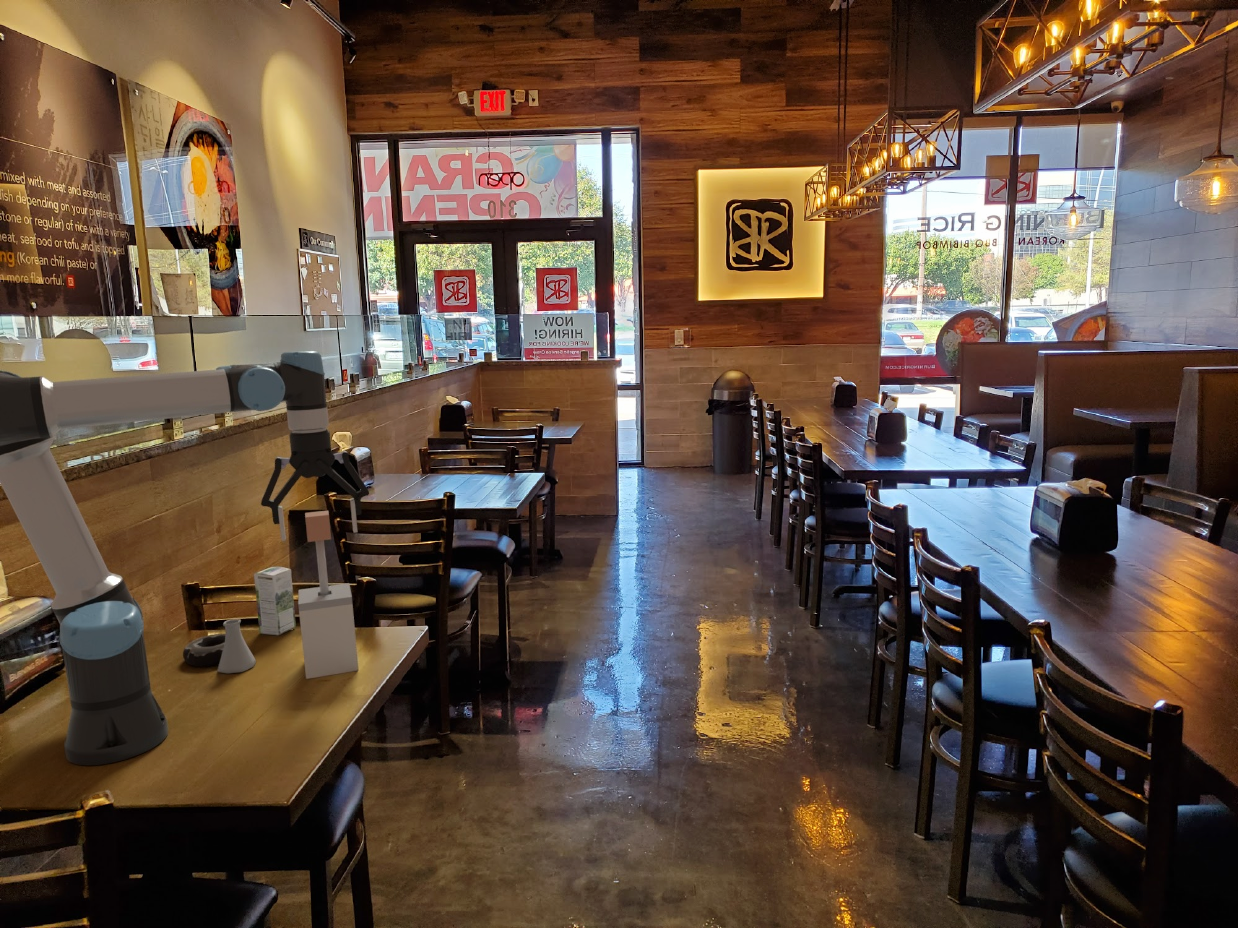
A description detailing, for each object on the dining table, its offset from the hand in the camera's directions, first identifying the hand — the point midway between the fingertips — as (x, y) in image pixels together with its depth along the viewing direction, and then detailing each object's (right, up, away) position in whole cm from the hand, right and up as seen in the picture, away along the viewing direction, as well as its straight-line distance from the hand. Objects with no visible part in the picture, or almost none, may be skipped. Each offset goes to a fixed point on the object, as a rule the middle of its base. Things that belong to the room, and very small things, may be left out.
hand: (319, 535), depth 171 cm
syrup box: (-19, -24, +26) cm, 41 cm away
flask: (-19, -28, +5) cm, 34 cm away
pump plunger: (0, -15, +2) cm, 16 cm away
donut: (-26, -27, +11) cm, 40 cm away
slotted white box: (+1, -27, +4) cm, 28 cm away
